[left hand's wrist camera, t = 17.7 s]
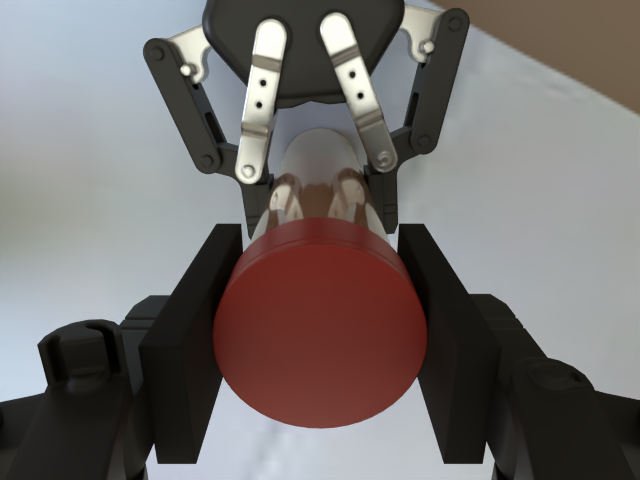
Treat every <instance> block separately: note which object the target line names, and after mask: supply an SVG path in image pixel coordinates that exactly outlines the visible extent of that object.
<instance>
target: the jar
mask: <svg viewBox="0 0 640 480" xmlns="http://www.w3.org/2000/svg"><path fill="white" fill-rule="evenodd" d="M315 217H324V218H335V219H341V220H346V221H349V222H352V223H356V224H358V225H360V226H363V227H365V228H367V229H369V230H371V231H372V232H374V233H375V234H377V235H379V236H380V237H381V238H382V239H384V240H385V241H386V242H387V243H388V244H389V245H390V246H391V244H390V242H389V239H388V237H387V234H386V232H385V229H384V226H383V224H382V221H381V219H380V216H379V214H378V211H377V208H376V206H375V203H374V201H373V198H372V195H371V193H370V190H369V188H368V185H367V183H366V180H365V177H364V175H363V172H362V170H361V167H360V165H359V162H358V159H357V157H356V154H355V152H354V149H353V147H352V146H351V144H350V143H349V141H348V140H347V139H346V138H345V137H344V136H342V135H341V134H339V133H338V132H336V131H333V130H330V129H326V128H314V129H310V130H307V131H304V132H302V133H301V134H299V135H298V136H296V137H295V138H294V139H293V140H292V141H291V143H290V144H289V146H288V147H287V149H286V152H285V154H284V157H283V159H282V162H281V164H280V167H279V170H278V172H277V175H276V177H275V180H274V182H273V185H272V188H271V190H270V193H269V195H268V198H267V201H266V203H265V206H264V208H263V211H262V213H261V216H260V219H259V221H258V224H257V226H256V229H255V231H254V234H253V237H252V239H251V242H250V244H249V246H250V245H251V244H252V243H253V242H254V241H255V240H256V239H257V238H259V237H260V236H262V235H263V234H265V233H266V232H268V231H269V230H271V229H273V228H275V227H277V226H279V225H282V224H285V223H288V222H291V221H294V220H299V219H304V218H315Z"/></svg>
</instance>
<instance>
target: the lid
mask: <svg viewBox="0 0 640 480" xmlns="http://www.w3.org/2000/svg"><path fill="white" fill-rule="evenodd" d="M212 336H213V347H214V355H215V359H216V362H217V364H218V367H219V370H220V372H221V373H222V375H223V377H224V379H225V381H226V382H227V383H228V385H229V386H230V388H231V389H232V390H233V391H234V392H235V393H236V394H237V395H238V397H239V398H240V399H242V400H243V401H244V402H245V403H246V404H248V405H249V406H250V407H252V408H253V409H255V410H256V411H258V412H259V413H261V414H263V415H265V416H267V417H269V418H271V419H274V420H277V421H279V422H282V423H285V424H289V425H294V426H299V427H306V428H335V427H341V426H347V425H351V424H354V423H358V422H361V421H363V420H366V419H368V418H371V417H373V416H375V415H377V414H379V413H380V412H382V411H384V410H385V409H387V408H388V407H390V406H391V405H392V404H394V403H395V402H396V401H397V400H398V399H399V398H400V397H402V396H403V395H404V393H405V392H406V391H407V390H408V389H409V388H410V386H411V385H412V383H413V382H414V380H415V379H416V377H417V376H418V374H419V371H420V369H421V367H422V365H423V362H424V358H425V355H426V349H427V339H428V328H427V321H426V316H425V313H424V310H423V307H422V304H421V302H420V299H419V297H418V295H417V292H416V290H415V287H414V285H413V283H412V280H411V278H410V276H409V273H408V271H407V269H406V267H405V265H404V263H403V261H402V260H401V258H400V257H399V255H398V254H397V252H396V251H395V250H394V249H393V248H392V247H391V246H390V245H389V244H388V243H387V242H386V241H385V240H384V239H382V238H381V237H380V236H379V235H377V234H375V233H374V232H372V231H371V230H369V229H367V228H365V227H363V226H360V225H358V224H356V223H352V222H349V221H346V220H341V219H335V218H324V217H315V218H304V219H299V220H294V221H291V222H288V223H285V224H282V225H279V226H277V227H275V228H273V229H271V230H269V231H268V232H266V233H265V234H263V235H262V236H260V237H259V238H257V239H256V240H255V241H254V242H253V243H252V244H251V245H250V246H249V247H248V248H247V249H246V250H245V251H244V253H243V254H242V255H241V257H240V258H239V260H238V261H237V263H236V265H235V267H234V269H233V271H232V274H231V276H230V278H229V281H228V283H227V285H226V288H225V290H224V293H223V295H222V297H221V300H220V302H219V304H218V307H217V309H216V313H215V317H214V320H213V328H212Z"/></svg>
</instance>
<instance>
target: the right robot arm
mask: <svg viewBox="0 0 640 480" xmlns="http://www.w3.org/2000/svg"><path fill="white" fill-rule="evenodd" d="M469 25H470V21H469V16H468V14H467V13H466V12H465V11H464V10H463V9H460V8H452V9H450V10H447V11H445V12H440V11H435V10H430V9H426V8H421V7H416V6H411V5H406V4H405V3H404V0H207V3H206V7H205V9H204V12H203V16H202V24H201V25H199V26H197V27H194V28H192V29H189V30H187V31H185V32H182V33H180V34H178V35H175V36H173V37H171V38H168V39H164V38H153V39H150V40H149V41H147V42H146V44H145V45H144V48H143V56H144V59H145V61H146V63H147V65H148V67H149V69H150V71H151V74H152V76H153V78H154V80H155V82H156V84H157V86H158V88H159V90H160V93H161V95H162V97H163V99H164V101H165V103H166V105H167V107H168V109H169V111H170V114H171V116H172V118H173V120H174V122H175V124H176V126H177V128H178V130H179V133H180V135H181V137H182V139H183V141H184V143H185V145H186V147H187V149H188V151H189V154H190V156H191V158H192V160H193V162H194V164H195V166H196V168H197V169H198V170H199V171H200V172H202V173H204V174H212V173H219V174H223V175H227V176H230V177H232V178H234V179H235V180H236V181H237V182H238V183H239V185H240V187H241V190H242V196H243V203H244V209H245V216H246V222H247V229H248V235H249V238H250V239H252V237H253V234H254V231H255V229H256V226H257V224H258V221H259V219H260V216H261V213H262V211H263V208H264V206H265V203H266V201H267V198H268V195H269V193H270V190H271V188H272V185H273V182H274V174H269V170H268V163H267V162H268V157H269V151H270V146H271V141H272V136H273V131H274V128H275V124H276V119H277V114H278V109H283V108H293V107H296V106H298V105H301V104H303V103H306V102H309V101H314V102H319V103H325V104H337V103H346V104H347V106H348V109H349V111H350V114H351V116H352V119H353V121H354V124H355V126H356V128H357V131H358V134H359V136H360V139H361V141H362V144H363V146H364V149H365V151H366V154H367V163H368V165H363V168H364V177H365V180H366V183H367V185H368V188H369V190H370V193H371V195H372V198H373V201H374V203H375V206H376V208H377V211H378V214H379V216H380V219H381V221H382V224H383V226H384V229H385V232H386V234H394V233H395V230H396V228H397V225H398V205H397V171H398V169H399V167H400V165H401V164H402V163H403V162H405V161H406V160H408V159H410V158H413V157H415V156H417V155H419V154H422V155H424V154H428V153H430V152H432V151H433V150H434V149H435V148H436V146H437V143H438V139H439V136H440V132H441V128H442V125H443V121H444V117H445V114H446V110H447V106H448V103H449V99H450V95H451V92H452V88H453V84H454V81H455V77H456V73H457V70H458V66H459V62H460V58H461V55H462V51H463V47H464V44H465V40H466V36H467V33H468V29H469ZM398 30H400V31H402V32H403V33H404V34H405V36H406V37H407V41H408V47H407V51H408V55H409V57H410V58H411V59H412V60H413V61H415V62H418V67H417V71H416V75H415V79H414V83H413V87H412V92H411V96H410V100H409V104H408V108H407V112H406V116H405V121H404V125H403V127H402V128H400V129H398V130H395V131H393V132H391V133H389V131H388V128H387V126H386V123H385V120H384V116H383V113H382V110H381V107H380V104H379V101H378V99H377V96H376V93H375V91H374V88H373V85H372V83H371V80H370V76H371V75H372V73H373V71H374V70H375V68H376V66H377V65H378V63H379V61H380V60H381V58H382V56H383V55H384V53H385V51H386V50H387V48H388V46H389V45H390V43H391V41H392V40H393V38H394V36H395V35H396V33H397V31H398ZM212 48H213V49H214V50H215V51H216V52H217V53H218V55H219V56H220V57H221V58H222V59H223V60H224V61H225V63H226V64H227V65H228V66H229V67H230V68H231V69H232V71H233V72H234V73H235V74H236V75H237V76H238V77H239V78H240V80H241V81H242V82H243V83H244V84H245V85H246V86H247V94H246V100H245V106H244V112H243V117H242V124H241V138H240V144H239V146H237V145H233V144H230V143H227V141H226V138H225V136H224V134H223V132H222V129H221V127H220V125H219V123H218V120H217V118H216V116H215V113H214V111H213V109H212V107H211V104H210V102H209V100H208V98H207V95H206V93H205V91H204V89H203V86H202V84H201V83H202V82H204V81H205V80H206V79H207V77H208V74H209V68H208V64H207V56H208V53H209V51H210V50H211V49H212Z"/></svg>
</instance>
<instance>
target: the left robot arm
mask: <svg viewBox="0 0 640 480" xmlns="http://www.w3.org/2000/svg"><path fill="white" fill-rule="evenodd" d="M242 254H243V245H242V230H241V224H216V226H215V227H214V229H213V230H212V232H211V233H210V235H209V236H208V238H207V240H206V241H205V243H204V244H203V246H202V247H201V249H200V250H199V252H198V254H197V255H196V257H195V258H194V260H193V261H192V263H191V265H190V266H189V268H188V269H187V271H186V272H185V274H184V275H183V277H182V279H181V280H180V282H179V283H178V285H177V286H176V288H175V289H174V291H173V293H172V294H171V295H150V296H149V297H147V298H145V299H144V300H142V301H141V302H139V303H138V304H136V305H134V307H133V308H132V309H131V311H130V312H129V313H128V314H127V316H126V317H125V320H123V321H122V322H121V324H120V325H117V324H116V323H115V322H112V321H108V320H103V319H98V320H85V321H80V322H75V323H71V324H69V325H66V326H63V327H61V328H58V329H56V330H55V331H53V332H51V333H50V334H48V335H46V336H45V337H44V338H43V339H42V340H41V341H40V342H39V344H38V345H37V346H38V349H39V353H40V357H41V361H42V364H43V368H44V372H45V376H46V380H47V383H48V386H47V388H46V390H45V393H41V394H38V395H34V396H29V397H24V398H19V399H14V400H9V401H4V402H0V480H148V474H147V468H146V463H145V462H146V460H147V458H148V455H149V453H150V451H151V449H152V446H153V444H154V445H155V451H156V456H157V462H158V464H196V463H197V459H198V456H199V453H200V450H201V446H202V443H203V440H204V437H205V434H206V430H207V427H208V424H209V421H210V417H211V414H212V411H213V408H214V404H215V401H216V398H217V395H218V391H219V388H220V385H221V382H222V378H223V375H222V373H221V372H220V370H219V367H218V364H217V362H216V359H215V355H214V347H213V336H212V328H213V320H214V317H215V313H216V309H217V307H218V304H219V302H220V300H221V297H222V295H223V293H224V290H225V288H226V285H227V283H228V281H229V278H230V276H231V274H232V271H233V269H234V267H235V265H236V263H237V261H238V260H239V258H240V257H241V255H242ZM397 254H398V255H399V257H400V258H401V260H402V261H403V263H404V265H405V267H406V269H407V271H408V273H409V276H410V278H411V280H412V283H413V285H414V287H415V290H416V292H417V295H418V297H419V299H420V302H421V304H422V307H423V310H424V313H425V316H426V321H427V328H428V339H427V349H426V355H425V358H424V362H423V365H422V367H421V369H420V371H419V374H418V376H417V378H418V381H419V384H420V387H421V391H422V394H423V397H424V400H425V403H426V407H427V410H428V413H429V416H430V420H431V423H432V426H433V429H434V433H435V436H436V439H437V442H438V446H439V449H440V452H441V455H442V459H443V462H444V464H483V458H484V452H485V446H486V441H487V443H488V446H489V448H490V450H491V452H492V455H493V457H494V459H495V463H494V468H493V474H492V479H491V480H640V400H636V399H631V398H626V397H621V396H617V395H612V394H607V393H603V392H599V391H595V390H594V387H593V385H592V384H591V382H590V381H589V380H588V378H587V377H586V376H585V375H584V374H583V373H581V372H580V371H578V370H577V369H576V368H574V367H573V366H570V365H568V364H566V363H563V362H561V361H559V360H555V359H551V358H547V356H546V355H545V354H544V352H543V351H542V350H541V348H540V347H539V346H538V345H537V343H536V342H535V341H534V339H533V338H532V337H531V335H530V334H529V333H528V332H527V330H526V329H525V328H523V325H522V324H521V323H520V321H519V320H518V319H517V318H515V315H514V313H513V312H512V311H511V310H510V308H509V307H508V306H507V304H505V303H504V302H502V301H501V300H499V299H497V298H496V297H494V296H493V295H491V294H468V292H467V291H466V289H465V287H464V286H463V284H462V283H461V281H460V280H459V278H458V276H457V275H456V273H455V272H454V270H453V269H452V267H451V266H450V264H449V262H448V261H447V259H446V258H445V256H444V255H443V253H442V252H441V250H440V248H439V247H438V245H437V244H436V242H435V241H434V239H433V238H432V236H431V234H430V233H429V231H428V230H427V228H426V227H425V225H424V224H399V234H398V249H397Z"/></svg>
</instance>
